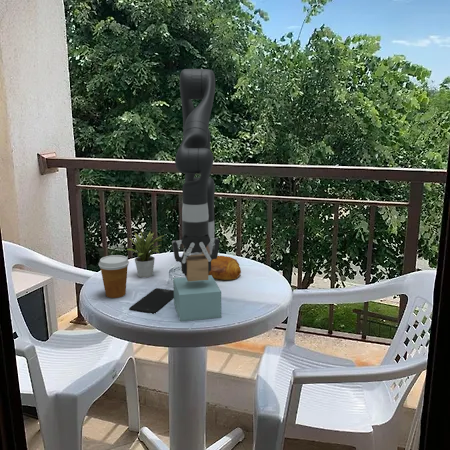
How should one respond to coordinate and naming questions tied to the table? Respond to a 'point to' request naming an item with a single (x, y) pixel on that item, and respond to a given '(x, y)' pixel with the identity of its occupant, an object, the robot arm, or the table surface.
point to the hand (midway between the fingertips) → (196, 273)
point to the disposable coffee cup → (114, 275)
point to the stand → (197, 299)
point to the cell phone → (153, 301)
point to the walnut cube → (197, 268)
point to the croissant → (224, 268)
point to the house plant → (145, 255)
